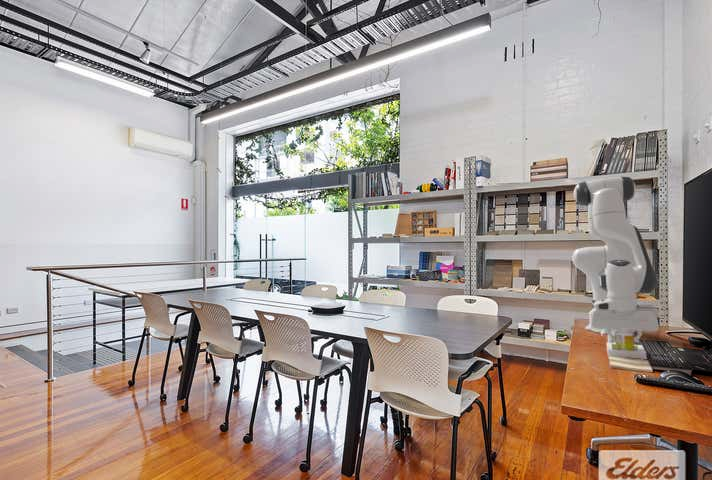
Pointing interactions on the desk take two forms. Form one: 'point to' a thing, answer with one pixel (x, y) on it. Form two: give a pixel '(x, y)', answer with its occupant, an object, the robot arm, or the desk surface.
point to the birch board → (630, 364)
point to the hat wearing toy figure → (608, 334)
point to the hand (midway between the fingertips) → (624, 341)
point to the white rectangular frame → (626, 352)
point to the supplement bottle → (624, 340)
